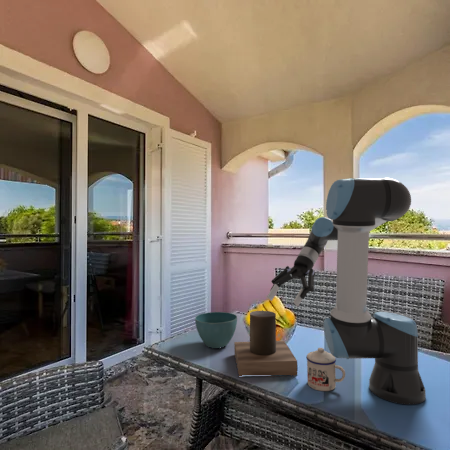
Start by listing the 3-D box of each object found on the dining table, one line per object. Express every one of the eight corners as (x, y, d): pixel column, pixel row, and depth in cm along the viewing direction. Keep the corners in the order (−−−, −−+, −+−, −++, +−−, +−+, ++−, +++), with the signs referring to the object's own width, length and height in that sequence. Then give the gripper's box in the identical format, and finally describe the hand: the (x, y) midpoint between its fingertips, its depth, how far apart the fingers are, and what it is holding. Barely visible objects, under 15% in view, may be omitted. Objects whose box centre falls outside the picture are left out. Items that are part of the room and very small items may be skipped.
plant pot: (186, 348, 137) (186, 319, 137) (209, 336, 153) (209, 309, 153) (224, 356, 128) (224, 325, 128) (244, 342, 144) (244, 314, 144)
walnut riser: (297, 375, 111) (297, 360, 111) (238, 377, 110) (238, 362, 110) (284, 353, 131) (283, 340, 131) (234, 354, 130) (234, 342, 130)
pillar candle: (269, 357, 114) (269, 314, 114) (245, 352, 119) (245, 310, 119) (280, 349, 122) (280, 308, 123) (256, 344, 127) (256, 305, 128)
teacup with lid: (302, 387, 103) (301, 349, 103) (312, 376, 110) (312, 341, 110) (341, 397, 96) (340, 358, 96) (349, 385, 103) (348, 348, 104)
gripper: (335, 268, 128) (312, 313, 119) (287, 263, 148) (264, 301, 139) (327, 256, 125) (303, 301, 116) (279, 252, 145) (255, 290, 135)
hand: (281, 301), depth 127 cm, fingers open, 13 cm apart
